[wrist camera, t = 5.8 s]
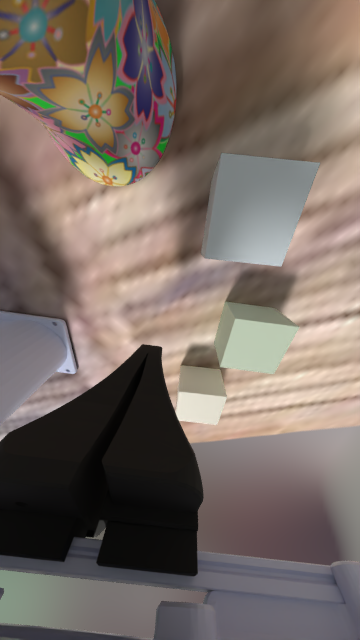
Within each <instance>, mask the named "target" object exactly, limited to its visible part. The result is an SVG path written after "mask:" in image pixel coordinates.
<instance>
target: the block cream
mask: <svg viewBox="0 0 360 640" xmlns="http://www.w3.org/2000/svg"><path fill="white" fill-rule="evenodd" d="M226 398H227V395H226V391H225V387H224V383H223V378H222V374H221V370H220V369H212V368H203V367H194V366H185V365H181V367H180V375H179V383H178V391H177V402H176V415H177V418H178V420H179V421H187V422H196V423H205V424H213V425H217V424H218V421H219V418H220V415H221V412H222V410H223V407H224V404H225V401H226Z"/></svg>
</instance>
